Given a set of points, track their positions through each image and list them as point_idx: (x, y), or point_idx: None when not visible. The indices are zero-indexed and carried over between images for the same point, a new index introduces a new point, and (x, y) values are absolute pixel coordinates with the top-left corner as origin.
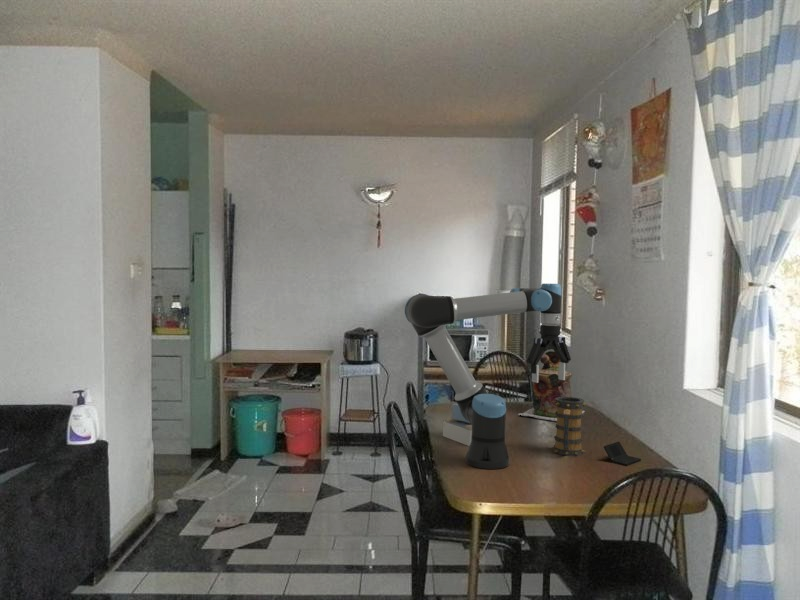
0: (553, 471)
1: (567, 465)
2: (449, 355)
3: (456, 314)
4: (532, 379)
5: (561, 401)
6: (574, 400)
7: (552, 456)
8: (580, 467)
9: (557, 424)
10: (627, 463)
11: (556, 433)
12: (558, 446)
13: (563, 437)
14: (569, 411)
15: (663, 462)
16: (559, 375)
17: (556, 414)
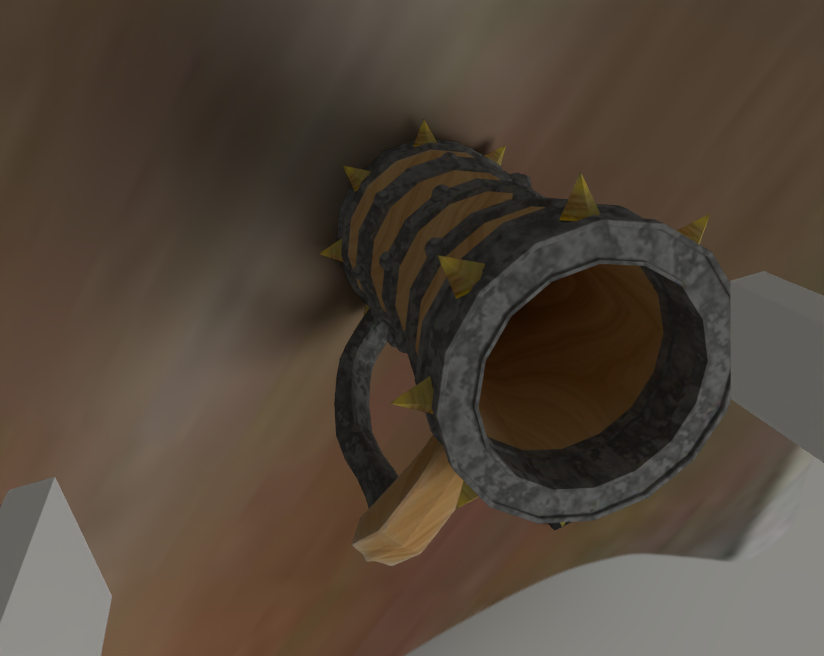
0: (118, 569)
1: (260, 482)
2: None
3: None
4: (3, 536)
5: (446, 455)
6: (688, 307)
7: (268, 305)
8: (312, 521)
9: (400, 268)
10: (567, 522)
11: (394, 214)
12: (353, 264)
13: (387, 315)
14: (412, 556)
15: (748, 490)
16: (785, 329)
17: (411, 294)
